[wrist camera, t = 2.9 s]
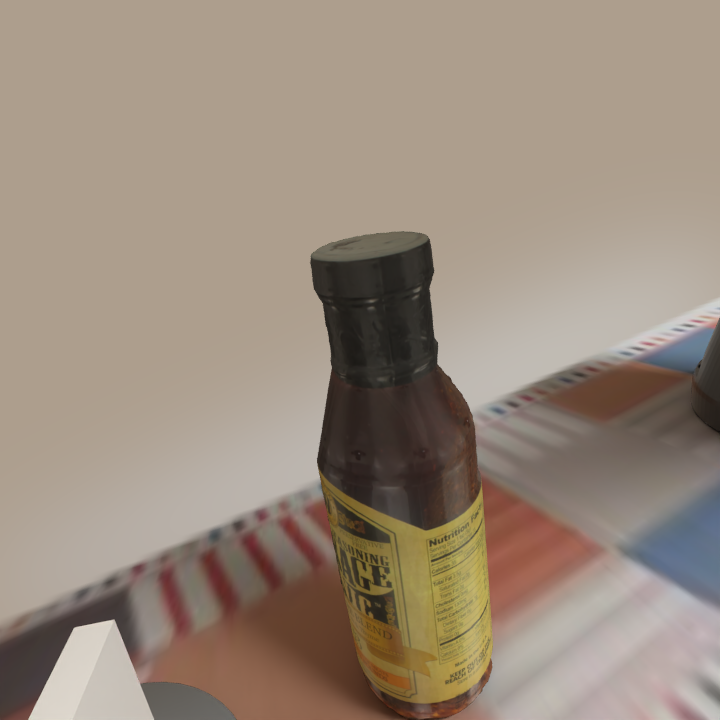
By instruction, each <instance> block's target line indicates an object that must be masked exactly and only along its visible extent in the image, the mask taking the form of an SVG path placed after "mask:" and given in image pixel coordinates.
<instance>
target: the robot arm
mask: <svg viewBox="0 0 720 720" xmlns="http://www.w3.org/2000/svg"><path fill="white" fill-rule="evenodd" d="M691 404H692V407H693V409H694V411H695V412H696V414H697V415H698V416H699V417H700V418H701V419H702V420H703V421H704V422H706V423H707V424H708V425H710V426H711V427H713V428H714V429H716V430H718V431H719V432H720V318H719V321H718V323H717V325H716V328H715V330H714V332H713V335H712V337H711V339H710V342H709V344H708V347H707V349H706V352H705V354H704V357H703V359H702V360H701V361H700V362H699V363H698V365H697V367H696V369H695V371H694V374H693V378H692V393H691ZM28 720H154V718H153V715H152V713H151V710H150V708H149V705H148V703H147V700H146V698H145V695H144V693H143V690H142V688H141V685H140V683H139V680H138V678H137V675H136V673H135V670H134V668H133V665H132V663H131V660H130V658H129V655H128V653H127V650H126V648H125V645H124V643H123V640H122V638H121V635H120V633H119V630H118V628H117V625H116V622H115V620H110V621H105V622H100V623H95V624H90V625H85V626H80V627H75V628H74V629H73V631H72V633H71V635H70V637H69V639H68V641H67V643H66V645H65V647H64V649H63V651H62V653H61V655H60V657H59V659H58V661H57V663H56V665H55V667H54V669H53V671H52V673H51V675H50V677H49V679H48V681H47V683H46V685H45V687H44V689H43V691H42V693H41V695H40V697H39V699H38V701H37V703H36V705H35V707H34V709H33V711H32V713H31V715H30V717H29V719H28Z"/></svg>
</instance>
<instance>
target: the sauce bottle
mask: <svg viewBox="0 0 720 720" xmlns="http://www.w3.org/2000/svg"><path fill="white" fill-rule="evenodd" d="M311 268H312V277H313V285H314V290H315V291H316V293H317V295H318V297H319V299H320V300H321V301H322V303H323V308H324V314H325V321H326V322H325V323H326V327H327V330H328V335H329V343H330V348H331V365H332V371H331V376H330V382H329V388H328V394H327V401H326V407H325V414H324V420H323V427H322V434H321V440H320V446H319V452H318V458H317V463H318V469H319V474H320V479H321V485H322V491H323V495H324V500H325V504H326V508H327V513H328V520H329V523H330V528H331V533H332V539H333V544H334V548H335V552H336V558H337V563H338V567H339V573H340V578H341V584H342V586H343V590H344V596H345V601H346V605H347V610H348V614H349V619H350V624H351V629H352V633H353V638H354V643H355V648H356V653H357V657H358V660H359V663H360V665H361V667H362V669H363V673H364V676H365V678H366V681H367V683H368V685H369V686H370V688H371V690H372V691H373V692H374V693H375V694H376V696H377V697H378V698H379V699H380V700H381V701H383V703H385V704H386V706H387V707H390V708H392V709H393V710H394V711H395V712H396V713H398V714H400V715H402V716H403V717H405V718H411V719H415V720H423V719H427V718H431V719H437V718H446V717H449V716H452V715H454V714H457V713H459V712H460V711H462V710H463V709H465V708H466V707H467V706H468V705H469V704H471V703H472V702H473V701H474V700H475V698H476V697H477V696H478V695H479V694H480V693H481V692H482V688H483V687H484V686H485V684H486V683H487V682H488V680H489V677H490V673H491V670H492V661H491V654H492V647H493V639H492V625H491V610H490V596H489V581H488V567H487V552H486V537H485V523H484V508H483V494H482V481H481V475H480V472H479V470H478V468H477V454H476V440H475V438H476V436H475V426H474V422H473V416H472V414H471V412H470V409H469V406H468V404H467V402H466V401H465V399H464V398H463V395H462V394H461V393H460V391H459V390H458V389H457V388H456V386H455V385H454V384H453V383H452V380H451V378H450V377H449V376H447V375H446V374H445V373H444V371H442V369H441V368H440V367H439V366H438V364H437V354H438V342H437V341H436V339H435V338H434V330H433V320H432V308H431V300H430V290H429V288H430V284H431V281H432V276H433V273H434V267H433V259H432V250H431V244H430V239H429V238H428V236H427V235H425V234H422V233H415V232H404V231H403V232H389V233H376V234H370V235H363V236H357V237H353V238H348V239H343V240H340V241H337V242H332V243H329V244H327V245H325V246H322V247H320V248H319V249H317V250H316V251H315V252H313V253H312V254H311Z"/></svg>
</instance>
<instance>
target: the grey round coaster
mask: <svg viewBox="0 0 720 720" xmlns="http://www.w3.org/2000/svg"><path fill="white" fill-rule="evenodd" d="M140 685H141V688H142V690H143V693H144V695H145V698H146V700H147V703H148V705H149V708H150V710H151V713H152V715H153V718H154V720H236V718H235V717H234V715H233V714H232V713H231V712H230V711H229V710H228V708H227V707H226V706H225V705H224V704H223V703H222V702H220V701H219V700H217V699H216V698H214V697H213V696H212V695H210V694H209V693H206V692H204V691H202V690H200V689H197V688H195V687H191V686H187V685H184V684H179V683H169V682H153V683H142V684H140Z"/></svg>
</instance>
